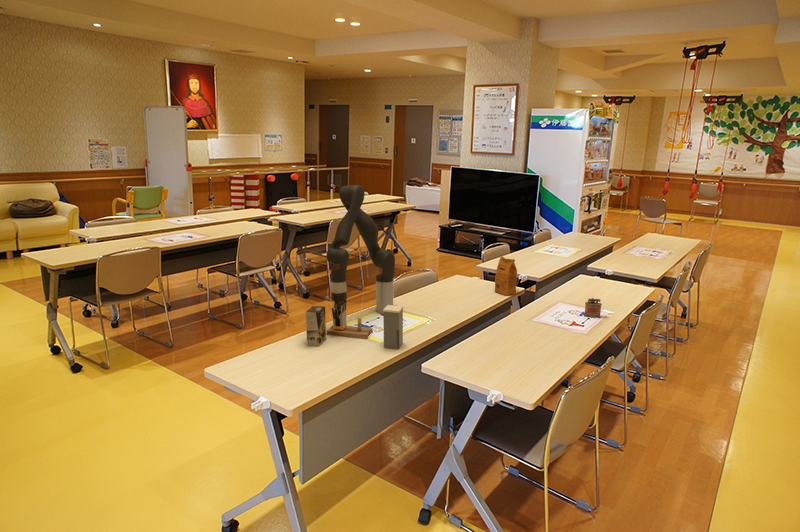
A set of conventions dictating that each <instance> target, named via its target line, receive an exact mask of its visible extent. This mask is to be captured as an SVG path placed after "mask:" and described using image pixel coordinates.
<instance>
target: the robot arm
mask: <svg viewBox="0 0 800 532" xmlns="http://www.w3.org/2000/svg"><path fill="white" fill-rule="evenodd" d="M338 196H339V199H340V202H341V203H342V205H343V206H344V208H345V209H346V213H345V214H344V216H343V217H342V218H341V220H340V221H339V223H338V225H337V228H336V231H335V236H334V238H333V240H332V241H331V244H330V246H329V248H328V249H327V251H326V257H325V258H326V261H327V262H328V263H330V264H336V265H338V267H335V268H332V269H331V270H330V299H331V301H332V302H334V304H333V307H331V314H332V315H331V316H332V320H333V319H335V324H336V326H338V327H339V326H340V314H341V313H342V311H344V310H346V311H347V303H348V302H347V300H348V291H347V290H348V286H347V274H346V273H347V269H348V264H349V260H350V253H349V252H348V250H347V249H344V248H342V247H345V246H348V245H349V243H350V241H351V240H350V239H351V235H352V231H353V227H354V225H355V228H356V229H357V230H358V231H357V232H358V233H359V235H360V237H361V238H362V240H363V243H364V244H365V246H366V248H367V251H368V253H369V256H370V259H371V262H372V263H373V265H374V266H375V267H377V268H380V269H381V273H378V274H376V275H375V312H376V313H377V314H383V310H384V308H385V307H386V306H387V305H394V277H395V269H396V267H395V266H396V259H395V258H396V257H395V255H394V253H393V252H391V251H387V250H383V249H382V247H380V244H379V243H378V238H379V230H378V226H377V225H376V223H375V220H374V219H373V218H372V217H371V216H370V215H369V214H368V213H367V212H365V211H364V210H363V209H361V207H362V206H363V203H364V200H365V196H366V195H365V190H364V187H363V186H362V185H360V184H352V185H351V184H350V185H348V184H347V185H343V186H341V187H340V188H339V191H338ZM338 314H339V315H338Z"/></svg>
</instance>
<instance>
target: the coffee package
mask: <svg viewBox="0 0 800 532" xmlns="http://www.w3.org/2000/svg"><path fill="white" fill-rule="evenodd" d="M515 261H516V259H515V258H505V257H504V256H503V255H501V256H500V258H499V260H498V265H497V267H496V270H495V278H494V293H498V294H499V295H502V296H510V295H513V294H516V292H517V279H518V275H517V274H518V269H517V267H516V264H515Z"/></svg>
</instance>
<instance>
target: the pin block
mask: <svg viewBox="0 0 800 532" xmlns="http://www.w3.org/2000/svg"><path fill="white" fill-rule="evenodd" d="M362 323H363V322H362V318H361V317H358V318H357V326H351V325H347V326H346V327H345V328H344V329H343V330H340V329H333V325H332V326H331V327H330V328H328V329H326V336H333V337H345V338H354V339H362V340H367V339H368V338H369V337H370V336H371V335H372V334H373V331H374V330H373V329H374V328H372V327H363V326H362ZM371 333H372V334H371ZM370 334H371V335H370ZM369 335H370V336H369ZM368 336H369V337H368Z"/></svg>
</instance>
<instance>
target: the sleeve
mask: <svg viewBox="0 0 800 532" xmlns="http://www.w3.org/2000/svg"><path fill="white" fill-rule="evenodd" d="M338 315H339V314H338ZM332 326H333V329H340V330H343V329H344V328H345V327H346V326H348V323H347V309H346V310H344V311H342V313H341V314H340V326H339V327H338V326H336V324H335V319H333V318H332Z"/></svg>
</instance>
